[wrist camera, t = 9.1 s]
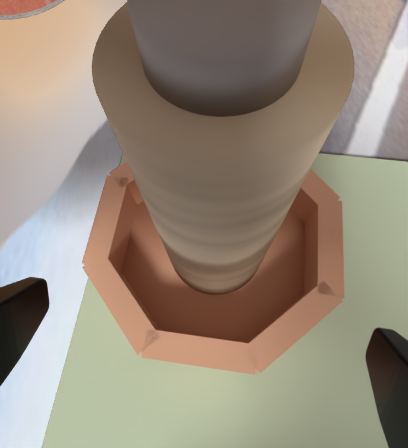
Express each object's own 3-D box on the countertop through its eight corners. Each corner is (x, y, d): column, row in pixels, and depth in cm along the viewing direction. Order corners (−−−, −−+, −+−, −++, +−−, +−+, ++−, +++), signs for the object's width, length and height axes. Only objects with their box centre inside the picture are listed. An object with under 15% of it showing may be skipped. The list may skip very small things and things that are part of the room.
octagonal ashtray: (323, 383, 16) (346, 388, 13) (84, 347, 17) (58, 344, 14) (323, 170, 21) (340, 140, 18) (135, 151, 22) (123, 120, 19)
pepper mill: (258, 300, 17) (399, 132, 4) (162, 288, 18) (21, 98, 5) (264, 212, 19) (374, -91, 6) (177, 202, 19) (109, -102, 7)
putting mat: (684, 578, 13) (697, 584, 13) (41, 461, 16) (36, 464, 15) (559, 180, 20) (565, 177, 20) (129, 138, 23) (127, 134, 22)
